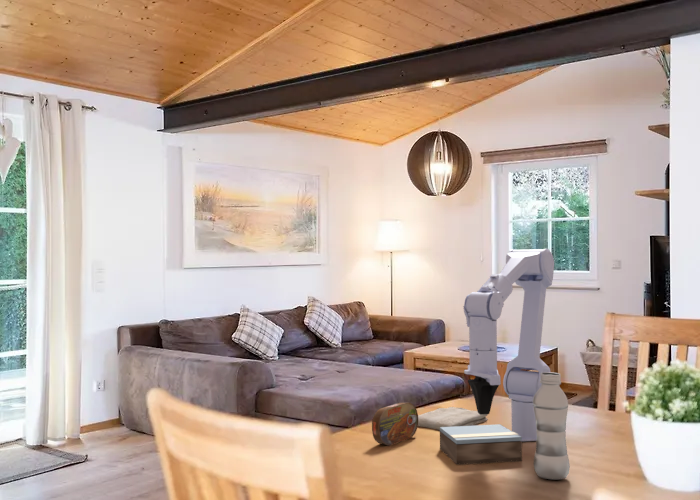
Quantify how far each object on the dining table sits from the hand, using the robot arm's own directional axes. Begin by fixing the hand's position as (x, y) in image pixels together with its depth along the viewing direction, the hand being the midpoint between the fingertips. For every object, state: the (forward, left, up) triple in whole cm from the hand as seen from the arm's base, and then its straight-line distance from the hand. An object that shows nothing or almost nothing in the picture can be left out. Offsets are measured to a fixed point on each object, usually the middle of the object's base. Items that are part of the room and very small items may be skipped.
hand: (483, 413), depth 153 cm
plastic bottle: (-8, +15, -10) cm, 20 cm away
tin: (+15, -18, -10) cm, 25 cm away
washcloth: (-3, -32, -10) cm, 34 cm away
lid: (0, -3, -5) cm, 6 cm away
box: (0, -3, -9) cm, 10 cm away
